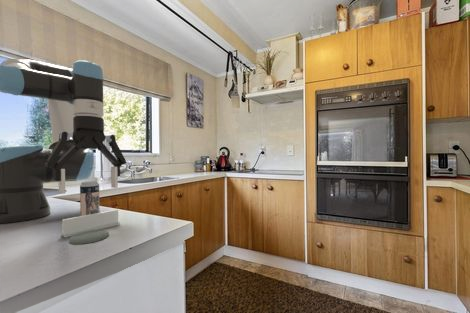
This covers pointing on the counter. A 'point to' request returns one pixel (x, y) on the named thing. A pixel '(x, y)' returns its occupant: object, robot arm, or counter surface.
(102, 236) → the coaster
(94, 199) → the beer can
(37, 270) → the counter surface
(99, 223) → the divider
